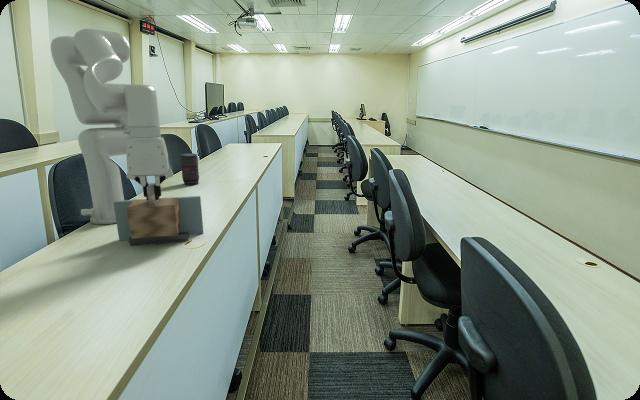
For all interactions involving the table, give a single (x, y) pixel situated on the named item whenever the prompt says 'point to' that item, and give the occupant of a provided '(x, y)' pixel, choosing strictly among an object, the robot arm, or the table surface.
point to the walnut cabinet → (153, 216)
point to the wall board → (187, 210)
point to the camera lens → (189, 169)
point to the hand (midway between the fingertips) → (153, 198)
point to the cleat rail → (159, 239)
